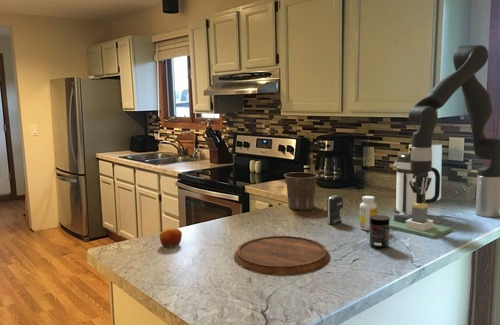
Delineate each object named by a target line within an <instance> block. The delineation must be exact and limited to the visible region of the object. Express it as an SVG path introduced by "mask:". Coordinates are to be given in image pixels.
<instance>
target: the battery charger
mask: <svg viewBox="0 0 500 325" xmlns="http://www.w3.org/2000/svg"><path fill="white" fill-rule="evenodd" d="M326 203H327V207H326V209H327V210H326V211H327V224H328V225H336V224H340V223H341V222H342V218H341V209H343V208H344V200H343V197H342V196H340V195H332V196H329V197H328V198H327V202H326Z"/></svg>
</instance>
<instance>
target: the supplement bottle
mask: <svg viewBox="0 0 500 325" xmlns="http://www.w3.org/2000/svg"><path fill="white" fill-rule="evenodd" d="M361 199H362V202H361V203H360V204H359V228H360V229H361V230H364V231H370V222H369V221H370V216H372V215H378V205H377V203H375V200H376V198H375V196H373V195H364V196H362V197H361Z"/></svg>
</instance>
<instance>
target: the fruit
mask: <svg viewBox="0 0 500 325" xmlns="http://www.w3.org/2000/svg"><path fill="white" fill-rule="evenodd" d="M182 233H183V231H182V230H180V229H179V228H176V227H168V228H166V229H164V230H162V231H161V232H160V233H159V241H160V244H161V245H162V247H164V248H167V247H170V248H171V246H172V247H177V246H179V245H180V243H181V241H182V236H183V234H182Z"/></svg>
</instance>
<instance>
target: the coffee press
mask: <svg viewBox="0 0 500 325" xmlns="http://www.w3.org/2000/svg"><path fill="white" fill-rule="evenodd" d="M411 149H412V146H411V147H409V149H408V151H409V152H401V153H400V154H398V155H397V158H395V162H394V163H393V167H396V168H395V170H396V171H395V172H396V192H395V193H396V195H395V196H396V202H395V204H396V205H395V207H394V209H393V212H394V213H397V212H399V213H401V212H406V213H410V214H412V205H413V204H416V195H417V194H416V193H413V191H412V189H411V186H410V184H409V181H412V180H413V174H414V172H413V171H411V170H410V167H411ZM430 172H432V173H433V174H434V177H435V178H434V195H433V196H432V197H431V198H426V194H427V193H426V192H427V191H425V194H424V203H422V204H433V203H435V202H437V200H438V199H439V197H440V191H441V190H440V188H441V175H440V172H439V170H438V169H437V168H435V167H433V166H432V170H431V171H430ZM428 216H429V214H428V213H427V217H428Z"/></svg>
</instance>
